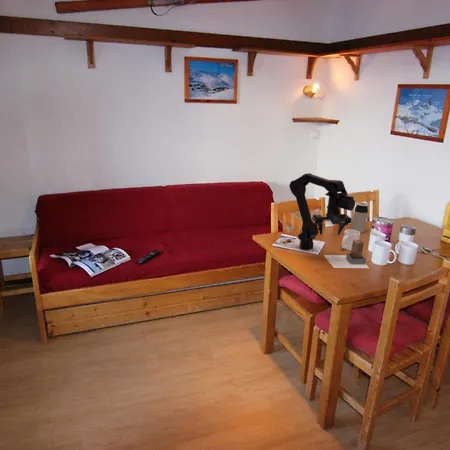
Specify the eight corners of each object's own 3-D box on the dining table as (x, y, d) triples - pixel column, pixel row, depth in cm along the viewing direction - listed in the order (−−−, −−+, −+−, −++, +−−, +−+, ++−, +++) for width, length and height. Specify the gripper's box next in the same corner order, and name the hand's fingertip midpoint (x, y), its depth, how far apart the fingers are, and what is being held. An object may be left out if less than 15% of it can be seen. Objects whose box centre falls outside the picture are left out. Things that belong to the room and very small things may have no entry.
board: (333, 269, 198) (334, 267, 198) (323, 256, 213) (323, 255, 213) (369, 269, 200) (369, 268, 199) (356, 257, 215) (356, 255, 214)
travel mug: (366, 233, 252) (370, 205, 247) (353, 232, 252) (357, 205, 247) (362, 229, 260) (366, 202, 254) (349, 228, 260) (354, 201, 254)
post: (352, 263, 204) (356, 242, 201) (349, 259, 208) (353, 239, 205) (360, 263, 205) (363, 242, 201) (357, 259, 209) (360, 239, 205)
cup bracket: (351, 264, 203) (352, 258, 202) (345, 258, 210) (346, 253, 209) (364, 264, 203) (365, 258, 202) (359, 258, 210) (360, 253, 209)
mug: (346, 254, 218) (349, 236, 214) (334, 249, 224) (337, 232, 221) (360, 250, 224) (363, 232, 221) (348, 245, 231) (350, 228, 227)
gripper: (320, 209, 194) (316, 240, 199) (358, 210, 195) (353, 240, 200) (313, 203, 204) (310, 232, 209) (349, 204, 206) (345, 233, 211)
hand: (329, 235), depth 207 cm, fingers open, 9 cm apart
